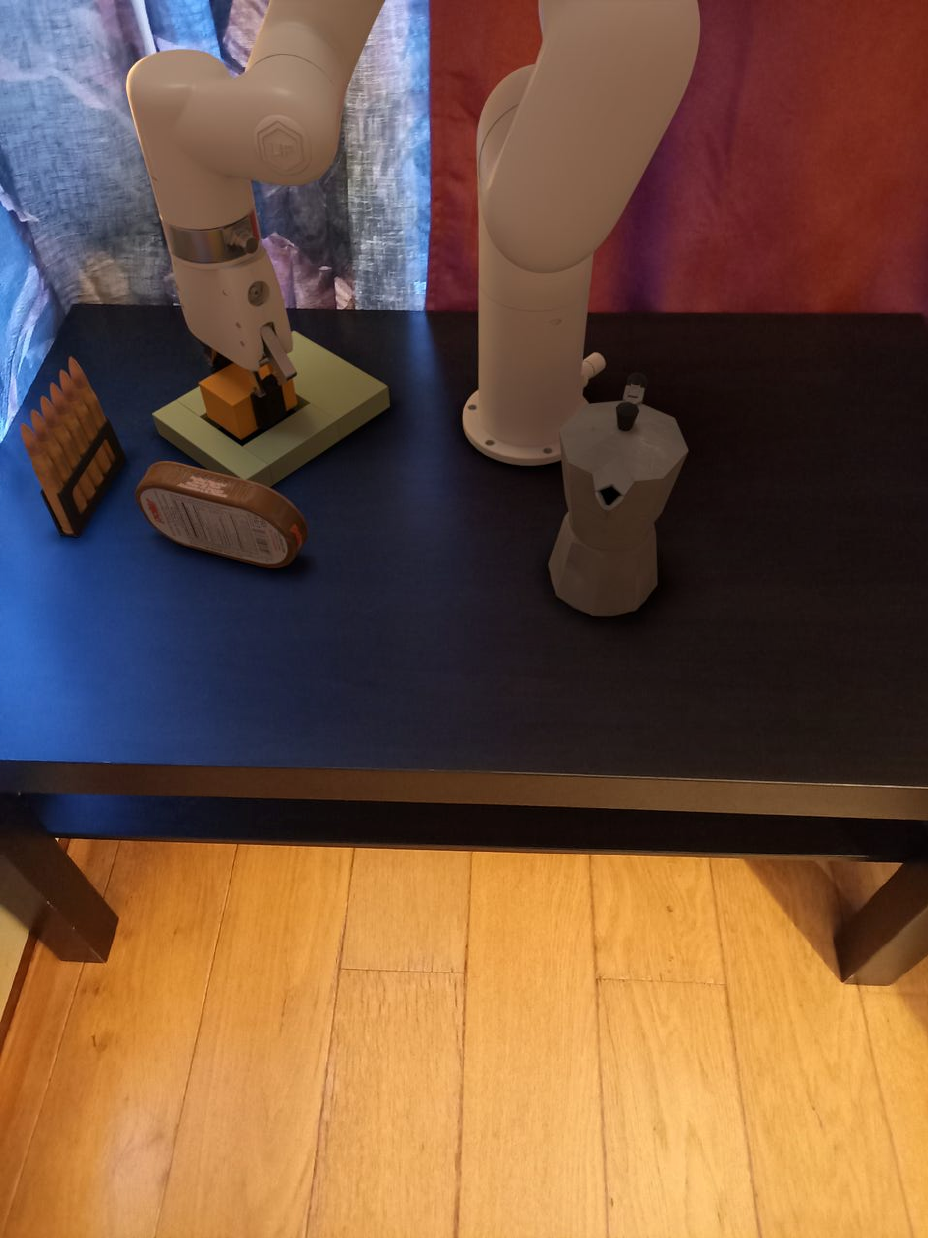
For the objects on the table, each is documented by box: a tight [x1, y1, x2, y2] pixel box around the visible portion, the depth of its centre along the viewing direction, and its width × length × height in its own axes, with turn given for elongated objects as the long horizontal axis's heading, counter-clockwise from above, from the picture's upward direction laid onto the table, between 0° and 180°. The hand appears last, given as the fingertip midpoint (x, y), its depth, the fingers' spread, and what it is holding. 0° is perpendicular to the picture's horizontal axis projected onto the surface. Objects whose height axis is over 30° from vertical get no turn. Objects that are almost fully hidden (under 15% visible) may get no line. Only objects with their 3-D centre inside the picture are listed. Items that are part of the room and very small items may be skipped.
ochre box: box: [198, 362, 297, 440], centre depth 89 cm, size 7×5×4 cm
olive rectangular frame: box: [151, 330, 391, 488], centre depth 92 cm, size 18×14×2 cm
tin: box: [134, 460, 309, 569], centre depth 79 cm, size 15×3×8 cm, turn 71°
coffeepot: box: [547, 372, 689, 617], centre depth 73 cm, size 15×9×18 cm, turn 165°
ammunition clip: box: [20, 356, 127, 538], centre depth 82 cm, size 11×2×12 cm, turn 170°
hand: (252, 406), depth 90 cm, fingers closed on ochre box, 5 cm apart
